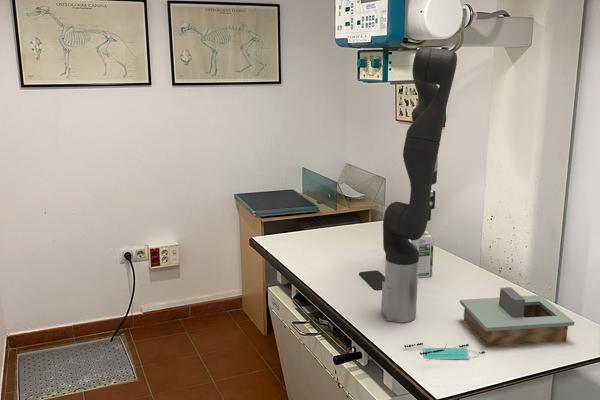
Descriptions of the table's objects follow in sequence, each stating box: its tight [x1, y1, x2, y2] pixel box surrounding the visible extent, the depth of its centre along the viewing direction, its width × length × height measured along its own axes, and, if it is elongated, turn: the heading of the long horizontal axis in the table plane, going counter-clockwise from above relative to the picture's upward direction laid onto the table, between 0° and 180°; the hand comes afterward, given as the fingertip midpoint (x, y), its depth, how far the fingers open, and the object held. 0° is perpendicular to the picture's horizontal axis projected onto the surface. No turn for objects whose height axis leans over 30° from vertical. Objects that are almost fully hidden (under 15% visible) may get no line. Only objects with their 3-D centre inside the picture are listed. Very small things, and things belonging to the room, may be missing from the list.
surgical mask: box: [403, 342, 486, 361], centre depth 150 cm, size 21×4×10 cm
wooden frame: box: [463, 305, 569, 348], centre depth 161 cm, size 22×15×5 cm
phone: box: [358, 269, 385, 291], centre depth 196 cm, size 7×1×15 cm
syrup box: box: [410, 230, 435, 279], centre depth 199 cm, size 6×6×14 cm
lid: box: [459, 286, 576, 331], centre depth 160 cm, size 24×17×6 cm
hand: (422, 216), depth 196 cm, fingers open, 8 cm apart
